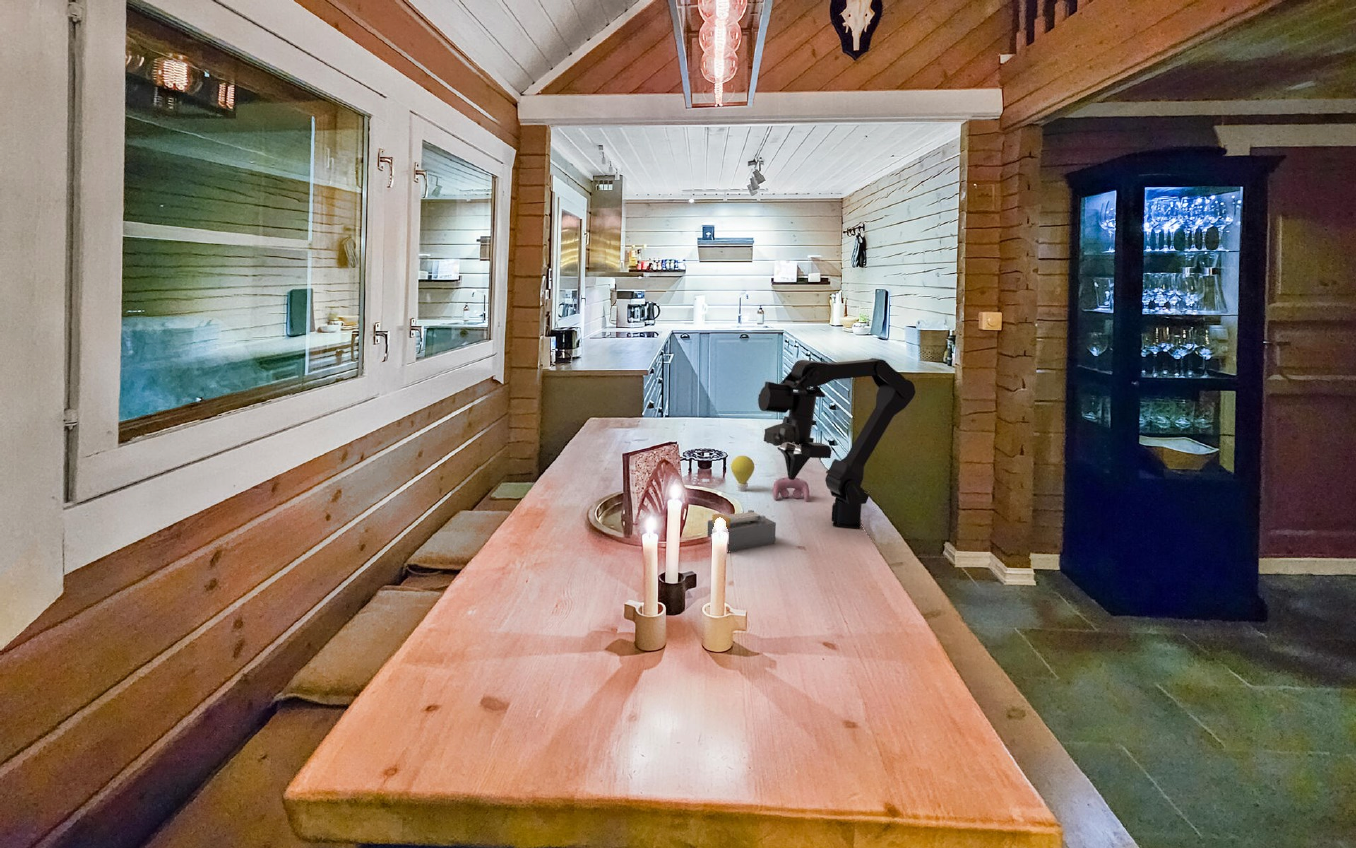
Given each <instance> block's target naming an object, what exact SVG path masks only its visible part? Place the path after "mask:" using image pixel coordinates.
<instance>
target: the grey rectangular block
mask: <svg viewBox="0 0 1356 848" xmlns="http://www.w3.org/2000/svg"><path fill="white" fill-rule="evenodd" d="M749 512H754V513H755V511H754V510H753V509H748V510H747V513H749ZM724 515H725V514H722V513H715V514H712V519H710V520H707V537H711V534H712V529H713V527H714V523H715V520H716V519H717V518H719V517H721V518H723V519H724V520H725V521H726V527H727V529H728V532H729V544H728V553H727V554H729V553H730V552H729V551H734V552H738V551H744V550H749V549H754V548H761V547H766V546H771V545H772V546H773V545H775V544H776V532H777V531H776V528H777V527H776V525H777V522H775V521H773V520H771V519H769V518H767V517H766V515H761V516H760V517H759V520H755V521H746V522H736V523H730V518H728V517H726V516H724Z"/></svg>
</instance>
